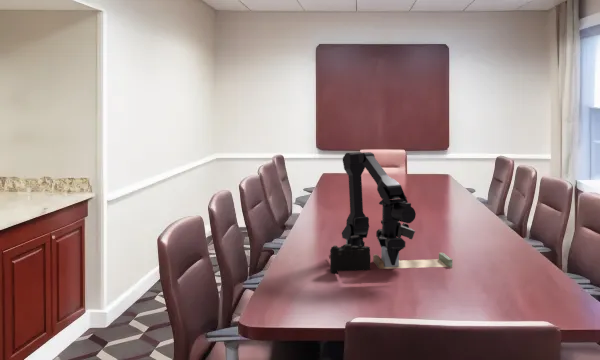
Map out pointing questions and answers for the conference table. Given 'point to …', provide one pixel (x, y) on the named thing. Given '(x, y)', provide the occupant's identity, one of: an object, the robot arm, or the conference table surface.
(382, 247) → the block
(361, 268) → the camera
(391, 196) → the robot arm
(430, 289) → the conference table surface
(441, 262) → the track
